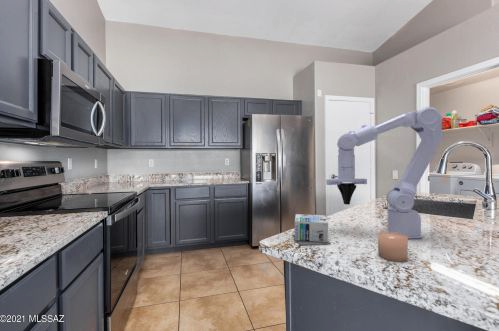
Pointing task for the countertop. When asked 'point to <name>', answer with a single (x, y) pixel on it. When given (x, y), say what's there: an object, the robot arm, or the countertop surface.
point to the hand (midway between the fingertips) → (346, 204)
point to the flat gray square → (310, 242)
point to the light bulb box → (311, 228)
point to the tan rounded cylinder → (393, 246)
